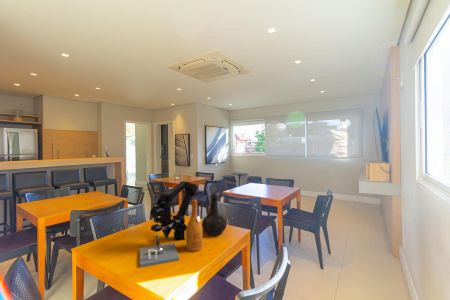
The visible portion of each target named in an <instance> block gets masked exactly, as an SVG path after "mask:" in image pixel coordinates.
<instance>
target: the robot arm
mask: <svg viewBox="0 0 450 300" xmlns="http://www.w3.org/2000/svg"><path fill="white" fill-rule="evenodd" d="M182 191H184V195H183V199H182V201H181V204H180V206H179V208H178V209H179V210H178V211H177V214H175V215H172V206H173V205H174V203H173V201H174V200H175V197H176V196H178V194H180V192H182ZM197 191H198V186H197V184H196V183H191V182H189V181H185V180H181V181H180V183H178V184H177V185H175V186H174V187H172V188H171V189H170V190H167V191H164V192H161V194H160V195H159V197H158V200H157V202H156V205H153V206H152V208H151V209H150V212H149V213H150V216H151V217H152V218H153V223H155V224H152V225H151V226H150V231H153V232H154V233H157V232H161V231H162V233H163V236H164V238H165V239H168V238H169V235H170V233H171V232H172V230H173V239H174V240H175V242H177V241H186V234H185V232H186V229H187V225H186V224H185V222H186V220H185V215H186V213H187V210H188V207H189V205H190V202H191V201H192V197H193V196H194V195H196V192H197Z"/></svg>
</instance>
